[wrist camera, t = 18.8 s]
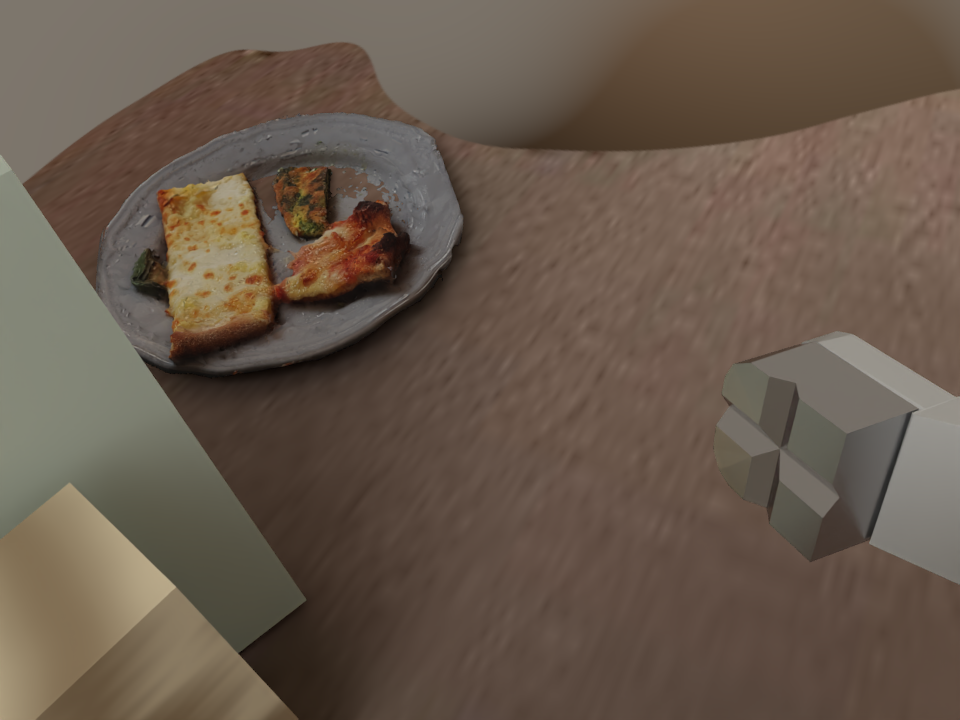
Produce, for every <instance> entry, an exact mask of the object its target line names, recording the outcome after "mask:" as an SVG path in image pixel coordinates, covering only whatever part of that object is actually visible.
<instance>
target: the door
mask: <svg viewBox="0 0 960 720" xmlns="http://www.w3.org/2000/svg"><path fill="white" fill-rule="evenodd" d="M68 483H71V484H72V485H73V486H74V487H75V488H76V489H77V490H78V491H79V492H80V493H81V494H82V495H83V496H84V497H85V498H86V499H87V500H88V501H89V502H90V503H91V504H92V505H93V506H94V507H95V508H96V509H97V510H98V511H99V512H100V513H101V514H102V515H103V516H104V517H105V518H106V519H107V520H108V521H109V522H110V523H111V524H112V525H114V526H115V527H116V528H117V529H118V530H119V531H120V532H121V533H122V534H123V535H124V536H125V537H126V538H127V539H128V540H129V541H130V542H131V543H132V544H133V545H134V546H135V547H136V548H137V549H138V550H139V551H140V552H141V553H142V554H143V555H144V556H145V557H146V558H147V559H148V560H149V561H150V562H151V563H152V564H153V565H154V566H155V567H156V568H157V569H158V570H159V571H160V572H161V573H162V574H164V575H165V576H166V577H167V578H168V579H169V580H170V581H171V582H172V583H173V584H174V585H175V586H176V587H177V588H178V589H179V590H180V592H181V593H182V594H183V595H184V596H185V597H186V598H187V599H188V600H189V601H190V602H191V603H192V605H193V606H194V607H195V608H196V609H197V610H198V611H199V612H200V613H201V614H202V615H203V616H204V617H205V619H206V620H207V621H208V622H209V623H210V624H211V625H212V626H213V627H214V628H215V629H216V630H217V631H218V633H219V634H220V635H221V636H222V637H223V638H224V639H225V640H226V641H227V642H228V643H229V644H230V646H231V647H232V648H233V649H234V650H235V651H236V652H237V653H239V652H240V651H242V650H243V649H244V648H246V647H247V646H248V645H249V644H251V643H252V642H253V641H255V640H256V639H257V638H259V637H260V636H261V635H262V634H264V633H265V632H266V631H268V630H269V629H270V628H271V627H273V626H274V625H275V624H277V623H278V622H279V621H280V620H282V619H283V618H284V617H286V616H287V615H288V614H289V613H291V612H292V611H293V610H295V609H296V608H297V607H298V606H300V605H301V604H302V603H304V602H305V601H306V598H305V597H304V595H303V594H302V592H301V591H300V589H299V588H298V586H297V585H296V584H295V582H294V581H293V579H292V578H291V576H290V575H289V573H288V572H287V570H286V569H285V568H284V566H283V565H282V563H281V562H280V560H279V559H278V557H277V556H276V554H275V553H274V551H273V550H272V549H271V547H270V546H269V544H268V543H267V541H266V540H265V538H264V537H263V535H262V534H261V532H260V531H259V530H258V528H257V527H256V525H255V524H254V522H253V521H252V519H251V518H250V516H249V515H248V513H247V512H246V511H245V509H244V508H243V506H242V505H241V503H240V502H239V500H238V499H237V497H236V496H235V495H234V493H233V492H232V490H231V489H230V487H229V486H228V484H227V483H226V481H225V480H224V478H223V477H222V476H221V474H220V473H219V471H218V470H217V468H216V467H215V465H214V464H213V462H212V461H211V459H210V458H209V457H208V455H207V454H206V452H205V451H204V449H203V448H202V446H201V445H200V443H199V442H198V440H197V439H196V438H195V436H194V435H193V433H192V432H191V430H190V429H189V427H188V426H187V424H186V423H185V422H184V420H183V419H182V417H181V416H180V414H179V413H178V411H177V410H176V408H175V407H174V405H173V404H172V403H171V401H170V400H169V398H168V397H167V395H166V394H165V392H164V391H163V389H162V388H161V386H160V385H159V384H158V382H157V381H156V379H155V378H154V376H153V375H152V373H151V372H150V370H149V369H148V367H147V366H146V365H145V363H144V362H143V360H142V359H141V357H140V356H139V354H138V353H137V351H136V350H135V349H134V347H133V346H132V344H131V343H130V341H129V340H128V338H127V337H126V335H125V334H124V332H123V331H122V330H121V328H120V327H119V325H118V324H117V322H116V321H115V319H114V318H113V316H112V315H111V313H110V312H109V311H108V309H107V308H106V306H105V305H104V303H103V302H102V300H101V299H100V297H99V296H98V294H97V293H96V292H95V290H94V289H93V287H92V286H91V284H90V283H89V281H88V280H87V278H86V277H85V276H84V274H83V273H82V271H81V270H80V268H79V267H78V265H77V264H76V262H75V261H74V259H73V258H72V257H71V255H70V254H69V252H68V251H67V249H66V248H65V246H64V245H63V243H62V242H61V240H60V239H59V238H58V236H57V235H56V233H55V232H54V230H53V229H52V227H51V226H50V224H49V223H48V221H47V220H46V219H45V217H44V216H43V214H42V213H41V211H40V210H39V208H38V207H37V205H36V204H35V203H34V201H33V200H32V198H31V197H30V195H29V194H28V192H27V191H26V189H25V188H24V186H23V185H22V184H21V182H20V181H19V179H18V178H17V176H16V175H15V173H14V172H13V170H12V169H11V168H10V166H9V165H8V164H7V163H6V161H5V160H4V159H3V158H2V156H1V155H0V539H1V538H3V537H4V536H5V535H6V534H8V533H9V532H10V531H11V530H12V529H14V528H15V527H16V526H17V525H18V524H20V523H21V522H22V521H23V520H25V519H26V518H27V517H28V516H29V515H31V514H32V513H33V512H34V511H36V510H37V509H38V508H39V507H40V506H42V505H43V504H44V503H45V502H46V501H48V500H49V499H50V498H51V497H53V496H54V495H55V494H56V493H57V492H59V491H60V490H61V489H62V488H64V487H65V486H66V485H67V484H68Z"/></svg>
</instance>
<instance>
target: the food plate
mask: <svg viewBox="0 0 960 720" xmlns="http://www.w3.org/2000/svg"><path fill="white" fill-rule="evenodd" d="M299 114H300V113H299ZM299 114H298V115H296V117H293V118H286V119H280V118H279V119H275V120H272V121H269V122H268V121H267V122H266V123H260V124H258V125H256V126H253V127H250V128H248V129H245V130H241V131H239V132H236V131H234V133H233V132H232V133H230V134H224V135H222V136H219V137H218V138H215V139H213V140H212V141H210V142H209V143H207V144H206V145H204V146H202V147H199V148H197V150H194V151H193V152H190V153H188V154H187V155H184V156H182V157H179V158H178V159H176V160H174V161H173V162H172V163H170V164H169V165H167V166H165V167H164V168H162V169H160V170H159V171H158V172H156V173H155V174H153V175H152V176H151V177H150V178H149V179H148V180H147V181H144V182H143V183H142V184H141V185H140V186H139V187H138V188H137V189H136V190H135V191H134V192H132V194H131V195H129V198H127V199H126V200H125V201H124V203H123V204H122V207H121V209H120V210H119V212H118V213H117V214H116V216H115V217H114V218H113V219H112V220H111V222H110V223H109V224H108V226H107V227H106V229H105V230H106V231H105V236H104V238H103V231H104V229H103V231H102V234H101V238H100V244H99V252H98V264H97V277H96V293H97V291H98V290H99V291H98V296H99V297H100V299H101V300H102V302H103V303H104V305H105V306H106V308H107V309H108V311H109V312H110V313H111V315H112V316H113V318H114V319H115V321H116V322H117V324H118V325H119V327H120V328H121V330H122V331H123V332H124V334H125V335H126V337H127V338H128V340H129V341H130V343H131V344H132V346H133V347H134V349H135V350H136V351H137V353H138V354H139V356H140V357H141V359H142V360H143V361H145V362H146V363H147V362H148V364H152V366H156V368H159V369H160V370H162V371H165V373H166V372H167V373H170V374H171V373H172V374H175V373H178V374H179V373H180V374H182V373H184V374H187V373H189V374H190V373H191V374H192V373H194V374H196V375H202V376H206V377H209V378H212V377H218V376H220V377H224V376H226V375H227V376H228V375H234V374H236V373H238V372H239V373H240V374H241V373H242V372H244V373H249V372H254V371H260V370H262V369H263V370H265V369H272V368H274V367H283V366H287V365H290V364H294V363H297V362H304V361H313V360H319V359H322V358H323V357H324V356H328V355H330V354H331V353H335V352H336V351H340V350H342V349H345V348H346V347H347V346H349V347H350V346H351V345H353V344H355V343H357V342H358V341H360V340H361V339H363V337H364V338H365V337H366V336H368V335H369V334H371V333H373V332H374V331H375V330H377V329H378V328H379V327H380V326H382V325H383V323H386V322H387V320H388V319H389V318H390V319H391V318H392V317H393V316H395V315H396V314H398V312H400V311H402V310H403V309H405V308H408V307H409V306H412V305H413V304H415V303H417V302H419V301H421V299H422V298H423V297H424V296H425V295H426V293H427V291H428V290H429V289H430V288H433V287H434V286H433V285H435V282H436V281H437V280H438V277H441V278H442V274H441V275H440V274H437V273H438V270H439V269H441V271H443V270H444V269H447V266H448V265H449V263H450V262H451V257H452V253H451V251H452V248H453V246H454V244H455V245H457V246H458V245H459V243H460V242H461V238H462V237H461V236H462V230H463V216H462V214H461V211H460V208H459V204H458V201H457V199H456V196H455V193H454V190H453V187H452V184H451V182H450V179H449V176H448V174H447V171H446V169H445V165H444V161H443V159H442V157H441V154H440V152H439V149H438V151H437V150H436V147H437V145H435V144H434V143H436V140H435V139H434V138H433V137H431V136H430V135H428V134H427V133H426V132H424V131H423V130H422V129H420V128H417V127H415V126H412V125H409V124H404V123H402V122H400V121H390V120H388V119H383V118H375V117H369V116H365V115H358V114H354V113H350V114H346V113H343V112H341V113H338V112H337V113H333V114H332V113H331V114H330V113H320V114H314V115H308V114H307V115H299ZM294 115H295V114H294ZM283 117H284V116H283ZM286 117H287V116H286ZM434 140H435V142H434ZM334 165H335V167H336V168H345V167H351V168H353V169H355V171H358V173H355V174H356V175H358V174H360V173H363V172H365V173H366V174H369V176H367V180H368V181H367V182H370V183H373V184H374V185H376V186H379V185H380V184H381V183H380V181H383V182H384V185H382V186H381V187H380V188H378V189H377V190H381V188H382V187H385V189H387V190H388V191H389V192H390V193H384V192H382V193H383V194H384V195H382V197H383V199H384V201H379V200H377V201H376V202H371V201H365V200H364V199H363V198H364V197H365V196H367V195H368V194H367V192H368V191H366V189H367V188H366V187H364V188H363V189H362V190H361V192H359V191H356V190H354V192H357V193H358V194H356V196H357V198H356V199H353V198H351V197H348V195H346V196H345V198H342V196H343V194H336V195H335V196H334V197H331V194H332V193H331V192H330V190H329V189H330V176H331V175H332V172H331V169H328V167H329V166H334ZM314 166H323V167H322V168H318V169H317V168H315V169H313V170H311V169H310V167H314ZM345 172H346V171H343V173H345ZM277 173H278V174H277ZM275 174H277V177H276V178H275V179H274V180H273V183H272V185H273V186H272V187H274V191H275V192H276V197H275V198H276V201H277V203H276V206H273V207H272V208H273V209H276V208H277V209H279V210H277V211H275V214H278V213H279V214H278V215H277V216H274V217H275V219H274V220H273V221H271V218H270V217H268V215H267V214H266V212H265V211H264V209H263V208H264V207H262V203H263V202H262V200H261V199H260V200H258V199H259V197H258V195H257V193H256V192H255V189H256V188H255V187H254V188H251V186H250V185H249V183H248V182H249V181H254V180H257V179H260V178H263V177H267V176H271V175H275ZM355 178H356V177H355ZM350 179H351V178H350ZM369 180H370V181H369ZM360 183H361V182H360ZM350 187H352V185H351V186H349V188H350ZM341 188H342V187H341ZM356 188H358V187H356ZM337 190H341V189H339V188H337ZM343 190H344V192H346V191H345V189H343ZM393 193H395V194H397V195H398V198H399V202H396V201H394V198H395V196H393ZM388 194H389V195H388ZM363 195H364V196H363ZM388 196H391V199H390V200H389V198H388ZM330 197H331V199H329V198H330ZM386 200H389V202H390V204H387V202H388V201H386ZM400 201H401V202H400ZM401 203H403V205H401ZM396 206H398V207H396ZM390 208H392V209H390ZM399 208H401V211H399ZM417 208H419V209H418V210H417ZM330 213H331V214H330ZM390 213H393V215H392V217H391V216H390ZM401 220H405V224H404V222H401ZM270 221H271V223H269V222H270ZM268 223H269V224H268ZM104 227H105V226H104ZM102 239H103V243H101V242H102ZM101 244H102V246H101ZM101 247H102V249H101ZM100 251H101V257H100ZM285 252H286V253H285ZM292 274H293V275H292ZM290 275H292V277H289V276H290ZM442 281H443V278H442Z"/></svg>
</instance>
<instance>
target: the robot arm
mask: <svg viewBox="0 0 960 720" xmlns="http://www.w3.org/2000/svg"><path fill="white" fill-rule="evenodd" d="M722 396H723V397H724V399H725V400H726V402H727V403H728V405H729V408H728V409H727V411H726V412H725V413H724V415H723V416H722V418H721V419H720V421H719V422H718V423H717V425H716V430H715V438H714V446H713V449H714V453H715V457H716V460H717V464H718V468H719V471H720V472H721V474H722V475H723V477H724V479H725V480H726V482H727V483H728V485H729V486H730V487H731V488H732V489H733V490H734V491H735V492H736V493H737V494H738V495H739V496H740V497H741V498H742V499H743V500H746V501H749V502H752V503H755V504H758V505H760V506H763V507H766V508H767V513H768V519H769V524H770V525H771V526H772V527H773V528H774V529H775V530H776V531H777V532H778V533H780V534H781V535H782V536H783V537H784V538H785V539H786V540H787V541H788V542H789V543H790V544H791V545H792V546H794V547H795V548H796V549H797V550H798V551H799V552H800V553H801V554H802V555H803V556H804V557H805V558H807V559H808V560H809V561H810V562H812V561H815V560H817V559H820V558H823V557H825V556H828V555H831V554H833V553H836V552H839V551H841V550H844V549H847V548H849V547H852V546H855V545H857V544H860V543H863V542H865V541H868V540H870V542H869V544H871V545H873V546H875V547H877V548H879V549H882V550H884V551H886V552H888V553H890V554H893V555H895V556H897V557H899V558H901V559H904V560H906V561H908V562H910V563H913V564H915V565H917V566H919V567H921V568H924V569H926V570H928V571H930V572H932V573H935V574H937V575H939V576H941V577H943V578H946V579H948V580H950V581H952V582H954V583H957V584H959V585H960V396H959V397H955V396H953V395H951V394H950V393H948V392H946V391H945V390H943V389H942V388H940V387H938V386H937V385H935V384H933V383H932V382H930V381H928V380H927V379H925V378H924V377H922V376H920V375H919V374H917V373H915V372H914V371H912V370H910V369H909V368H907V367H906V366H904V365H902V364H901V363H899V362H897V361H896V360H894V359H893V358H891V357H889V356H888V355H886V354H884V353H883V352H881V351H879V350H878V349H876V348H875V347H873V346H871V345H870V344H868V343H866V342H865V341H863V340H861V339H860V338H858V337H857V336H855V335H853V334H849V333H844V332H839V331H836V332H833V333H830V334H827V335H824V336H820V337H817V338H814V339H811V340H808V341H805V342H803V343H801V344H799V345H794V346H791V347H788V348H784V349H781V350H778V351H775V352H771V353H768V354H765V355H761V356H758V357H755V358H752V359H748V360H745V361H742V362H738V363H735V364H733V366H732V367H731V368H730V370H729V371H728V373H727V374H726V376H725V380H724V385H723V390H722Z"/></svg>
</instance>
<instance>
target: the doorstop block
mask: <svg viewBox="0 0 960 720" xmlns="http://www.w3.org/2000/svg"><path fill="white" fill-rule="evenodd" d="M0 720H299V719H298V718H297V717H296V716H295V715H294V713H293V712H292V711H291V710H290V709H289V708H288V707H287V706H286V705H285V704H284V703H283V702H282V701H281V699H280V698H279V697H278V696H277V695H276V694H275V693H274V692H273V691H272V690H271V689H270V688H269V686H268V685H267V684H266V683H265V682H264V681H263V680H262V679H261V678H260V677H259V676H258V675H257V674H256V672H255V671H254V670H253V669H252V668H251V667H250V666H249V665H248V664H247V663H246V662H245V661H244V660H243V658H242V657H241V656H240V655H239V654H238V653H237V652H236V651H235V650H234V649H233V648H232V647H231V646H230V644H229V643H228V642H227V641H226V640H225V639H224V638H223V637H222V636H221V635H220V634H219V633H218V631H217V630H216V629H215V628H214V627H213V626H212V625H211V624H210V623H209V622H208V621H207V620H206V619H205V617H204V616H203V615H202V614H201V613H200V612H199V611H198V610H197V609H196V608H195V607H194V606H193V605H192V603H191V602H190V601H189V600H188V599H187V598H186V597H185V596H184V595H183V594H182V593H181V592H180V590H179V589H178V588H177V587H176V586H175V585H174V584H173V583H172V582H171V581H170V580H169V579H168V578H167V577H166V576H165V575H164V574H162V573H161V572H160V571H159V570H158V569H157V568H156V567H155V566H154V565H153V564H152V563H151V562H150V561H149V560H148V559H147V558H146V557H145V556H144V555H143V554H142V553H141V552H140V551H139V550H138V549H137V548H136V547H135V546H134V545H133V544H132V543H131V542H130V541H129V540H128V539H127V538H126V537H125V536H124V535H123V534H122V533H121V532H120V531H119V530H118V529H117V528H116V527H115V526H114V525H112V524H111V523H110V522H109V521H108V520H107V519H106V518H105V517H104V516H103V515H102V514H101V513H100V512H99V511H98V510H97V509H96V508H95V507H94V506H93V505H92V504H91V503H90V502H89V501H88V500H87V499H86V498H85V497H84V496H83V495H82V494H81V493H80V492H79V491H78V490H77V489H76V488H75V487H74V486H73V485H72V484H71V483H68V484H67V485H66V486H65V487H64V488H62V489H61V490H60V491H59V492H57V493H56V494H55V495H54V496H53V497H51V498H50V499H49V500H48V501H46V502H45V503H44V504H43V505H42V506H40V507H39V508H38V509H37V510H36V511H34V512H33V513H32V514H31V515H29V516H28V517H27V518H26V519H25V520H23V521H22V522H21V523H20V524H18V525H17V526H16V527H15V528H14V529H12V530H11V531H10V532H9V533H8V534H6V535H5V536H4V537H3V538H1V539H0Z"/></svg>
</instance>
